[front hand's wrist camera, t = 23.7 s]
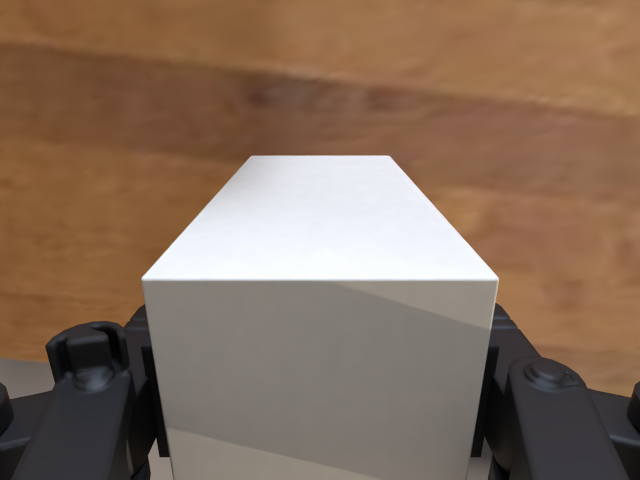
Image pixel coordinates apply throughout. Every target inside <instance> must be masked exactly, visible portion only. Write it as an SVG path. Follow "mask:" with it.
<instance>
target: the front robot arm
mask: <svg viewBox="0 0 640 480" xmlns="http://www.w3.org/2000/svg"><path fill="white" fill-rule="evenodd" d="M45 347H46V351H47V354H48V358H49V362H50V366H51V369H52V373H53V377H54V381H55V385H54V388H53V390H51V391H48V392H44V393H39V394H35V395H30V396H24V397H20V398H15V399H9V395H8V392H7V389H6V387H5V386H4V385H3V384H1V383H0V480H150V475H151V472H150V466H149V460H148V454H149V452H150V450H151V447H152V445H153V443H154V441H155V439H156V438H157V444H158V450H159V456H160V457H170V454H169V448H168V442H167V436H166V430H165V424H164V417H163V411H162V405H161V399H160V393H159V387H158V380H157V374H156V368H155V362H154V356H153V350H152V343H151V337H150V331H149V325H148V319H147V313H146V306H145V305H143V306H141V307H140V308H139V309H138V310H137V311H136V313H135V314H134V315H133V316H132V318H131V319H130V321H129V322H128V323H127V324H126V325H125V327H124V328H123V327H122V326H120V325H119V324H118V323H113V322H108V321H99V322H90V323H85V324H80V325H77V326H74V327H72V328H69V329H67V330H64V331H63V332H61V333H59V334H58V335H56V336H54V337H53V338H52V339H51V340H50V341H49V342H48V343H47V344H46V345H45ZM484 436H485V438H486V440H487V442H488V444H489V447H490V449H491V451H492V453H493V455H492V460H491V465H490V471H489V476H488V480H640V382H638V383H637V384H636V385H635V387H634V390H633V393H632V397H631V398H630V397H625V396H620V395H615V394H610V393H605V392H601V391H596V390H592V389H589V388H587V387H586V384H585V383H584V381H583V380H582V379H581V377H580V376H579V375H578V374H577V373H576V372H574V371H573V370H572V369H570V368H569V367H567V366H566V365H563V364H561V363H559V362H557V361H554V360H551V359H547V358H543V357H541V356H540V355H539V353H538V352H537V351H536V350H535V348H534V347H533V346H532V344H531V343H530V342H529V341H528V339H527V338H526V337H525V336H524V334H523V333H522V332H521V331H520V329H518V327H517V326H516V324H515V323H514V322H513V321H512V320H510V317H509V315H508V314H507V313H506V312H505V310H504V309H503V308H502V307H501V306H500V305H498V304H497V303H495V308H494V314H493V320H492V326H491V332H490V339H489V345H488V351H487V357H486V363H485V369H484V376H483V382H482V388H481V394H480V400H479V406H478V413H477V419H476V425H475V431H474V437H473V443H472V450H471V456H470V457H481V452H482V446H483V440H484Z"/></svg>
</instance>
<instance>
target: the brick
mask: <svg viewBox="0 0 640 480" xmlns="http://www.w3.org/2000/svg"><path fill="white" fill-rule="evenodd" d="M141 282H142V288H143V294H144V300H145V306H146V313H147V319H148V325H149V331H150V337H151V343H152V350H153V356H154V362H155V368H156V374H157V380H158V387H159V393H160V399H161V405H162V411H163V417H164V424H165V430H166V436H167V442H168V448H169V454H170V460H171V467H172V473H173V479H174V480H467V474H468V468H469V462H470V456H471V450H472V443H473V437H474V431H475V425H476V419H477V413H478V406H479V400H480V394H481V388H482V382H483V376H484V369H485V363H486V357H487V351H488V345H489V339H490V332H491V326H492V320H493V314H494V308H495V302H496V295H497V289H498V283H499V279H498V277H497V276H496V275H495V273H494V272H493V271H492V270H491V269H490V268H489V267H488V266H487V264H486V263H485V262H484V261H483V260H482V259H481V258H480V257H479V256H478V254H477V253H476V252H475V251H474V250H473V249H472V248H471V247H470V246H469V244H468V243H467V242H466V241H465V240H464V239H463V238H462V237H461V235H460V234H459V233H458V232H457V231H456V230H455V229H454V228H453V227H452V225H451V224H450V223H449V222H448V221H447V220H446V219H445V218H444V216H443V215H442V214H441V213H440V212H439V211H438V210H437V209H436V208H435V206H434V205H433V204H432V203H431V202H430V201H429V200H428V199H427V197H426V196H425V195H424V194H423V193H422V192H421V191H420V190H419V189H418V187H417V186H416V185H415V184H414V183H413V182H412V181H411V180H410V178H409V177H408V176H407V175H406V174H405V173H404V172H403V171H402V170H401V168H400V167H399V166H398V165H397V164H396V163H395V162H394V161H393V159H392V158H391V157H390V156H251V157H250V158H249V159H248V160H247V161H246V162H245V163H244V164H243V165H242V167H241V168H240V169H239V170H238V171H237V172H236V173H235V174H234V176H233V177H232V178H231V179H230V180H229V181H228V182H227V183H226V184H225V186H224V187H223V188H222V189H221V190H220V191H219V192H218V193H217V194H216V196H215V197H214V198H213V199H212V200H211V201H210V202H209V203H208V204H207V206H206V207H205V208H204V209H203V210H202V211H201V212H200V213H199V215H198V216H197V217H196V218H195V219H194V220H193V221H192V222H191V223H190V225H189V226H188V227H187V228H186V229H185V230H184V231H183V232H182V233H181V235H180V236H179V237H178V238H177V239H176V240H175V241H174V242H173V244H172V245H171V246H170V247H169V248H168V249H167V250H166V251H165V252H164V254H163V255H162V256H161V257H160V258H159V259H158V260H157V261H156V262H155V264H154V265H153V266H152V267H151V268H150V269H149V270H148V271H147V273H146V274H145V275H144V276H143V277H142V279H141Z"/></svg>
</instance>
